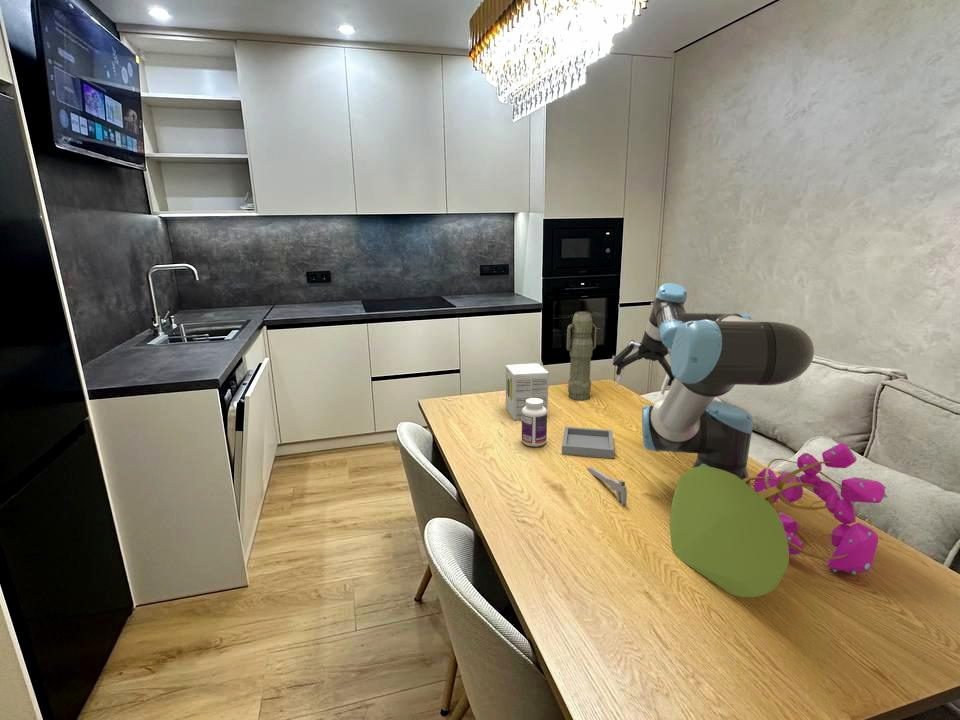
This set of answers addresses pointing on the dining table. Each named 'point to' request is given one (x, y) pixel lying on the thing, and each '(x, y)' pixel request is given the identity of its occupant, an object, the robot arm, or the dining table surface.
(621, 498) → the caliper
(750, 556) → the fallen flowering cactus
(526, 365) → the supplement box
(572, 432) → the tray
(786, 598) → the dining table surface
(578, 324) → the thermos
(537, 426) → the pill bottle
